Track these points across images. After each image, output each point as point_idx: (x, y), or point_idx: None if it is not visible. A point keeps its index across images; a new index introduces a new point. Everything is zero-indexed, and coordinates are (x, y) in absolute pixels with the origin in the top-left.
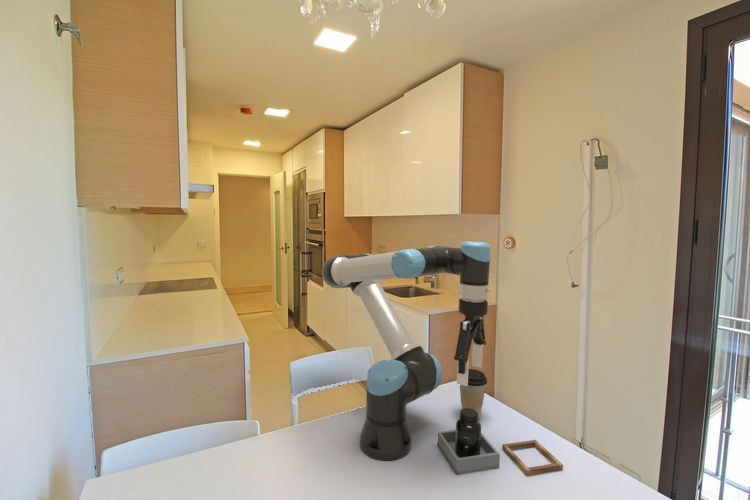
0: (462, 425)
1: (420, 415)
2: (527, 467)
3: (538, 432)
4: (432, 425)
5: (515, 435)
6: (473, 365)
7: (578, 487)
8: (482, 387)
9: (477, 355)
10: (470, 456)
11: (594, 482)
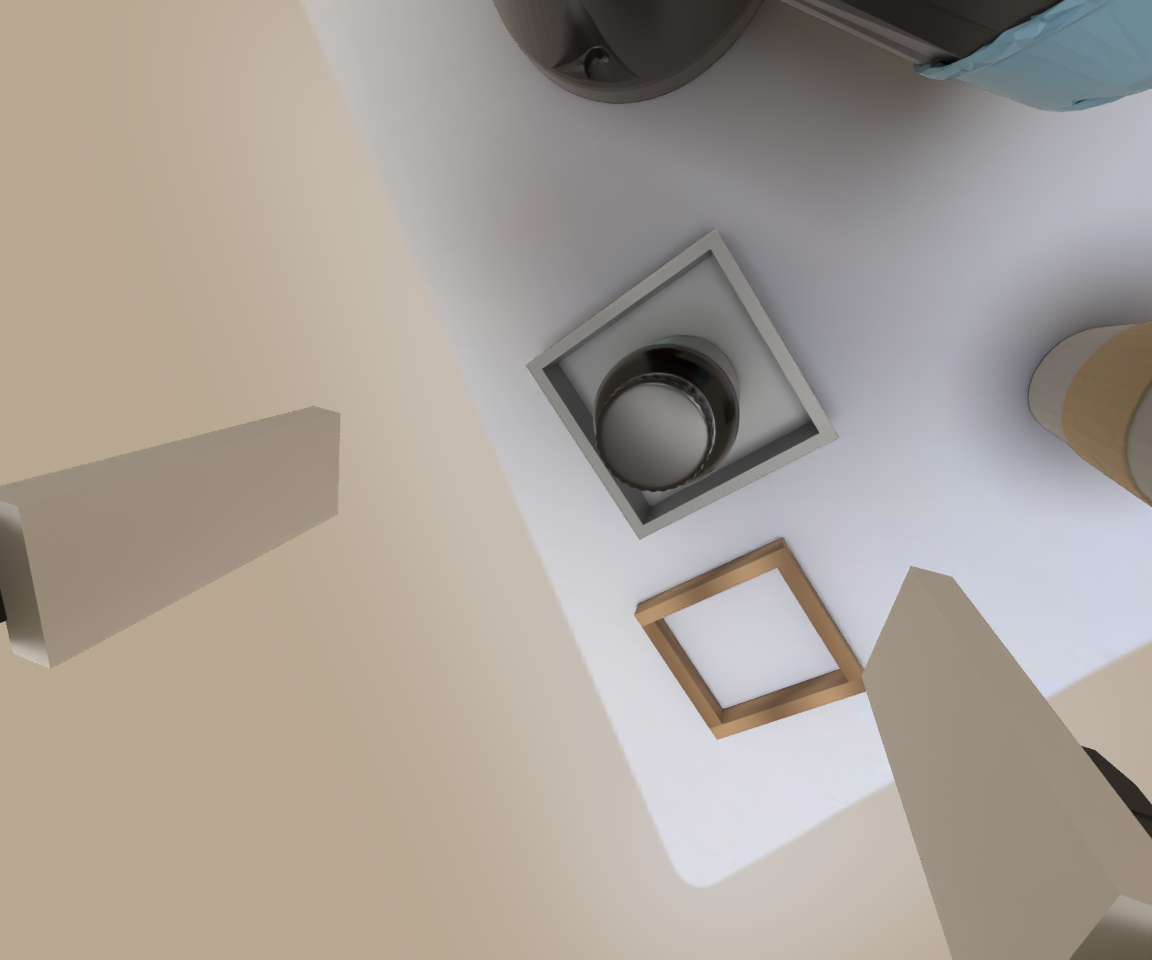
0: (609, 390)
1: None
2: (654, 620)
3: None
4: (917, 155)
5: None
6: (902, 590)
7: (643, 741)
8: None
9: (936, 754)
10: (574, 419)
11: (686, 792)
